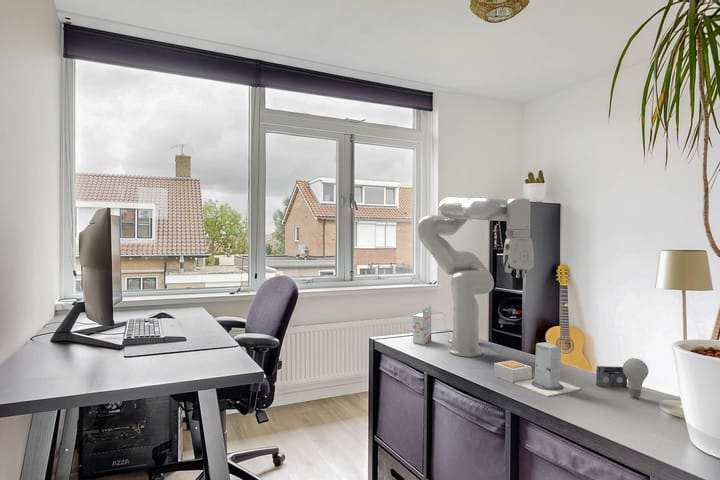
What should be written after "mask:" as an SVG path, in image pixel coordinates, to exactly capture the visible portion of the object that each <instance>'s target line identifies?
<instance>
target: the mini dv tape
mask: <svg viewBox="0 0 720 480" xmlns="http://www.w3.org/2000/svg"><path fill="white" fill-rule="evenodd" d="M595 374H596V376H595V377H596V378H595V379H596V380H595V381H596V384H595V385H596V386H597V387H598V388H620V387H623V388H624V389H625V388H626V389H627V388H628V380H627V377H626V376H625V374H624V372H623V366H607V365H606V366H605V365H604V366H601V365H600V366H599V365H597V366H596V373H595Z"/></svg>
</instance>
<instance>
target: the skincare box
mask: <svg viewBox="0 0 720 480" xmlns="http://www.w3.org/2000/svg"><path fill="white" fill-rule="evenodd" d="M561 357H562V347H561V346H560V345H556V344H554V343H549V342H544V341H543V342H538V343H535V358H534V359H535V360H534V361H535V362H534V363H535V364H534V379H535V383H537V384H539V385H542V386H544V387H547V388H556V387H559V384H560V381H561V379H560V378H561V377H560V376H561V359H562V358H561Z"/></svg>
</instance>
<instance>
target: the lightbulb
mask: <svg viewBox="0 0 720 480" xmlns="http://www.w3.org/2000/svg"><path fill="white" fill-rule="evenodd" d="M622 367H623V372H624V374H625V376H626V377H627V384H628V388H629V395H630V396H632V398H635V399H637V398H640V397H641V392H642V389H643V384H644V381H645V380H646V378H647V376H648V375H649V367H648V365H647V364H646V362H644V360H642V359H639V358H637V357H635V358H629V359H627V360H626V361H624V363H623V365H622Z"/></svg>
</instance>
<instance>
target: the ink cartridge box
mask: <svg viewBox="0 0 720 480" xmlns="http://www.w3.org/2000/svg"><path fill="white" fill-rule="evenodd" d="M421 311H422V312H419V313H416V314H414V315H412V343H413V344H418V345H425V344H427V343H429V342H432V307H431V306H428V307H425V308H422V310H421Z"/></svg>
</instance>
